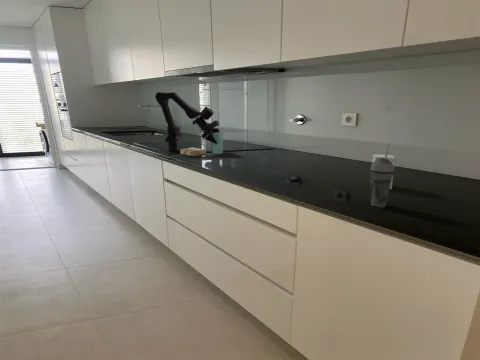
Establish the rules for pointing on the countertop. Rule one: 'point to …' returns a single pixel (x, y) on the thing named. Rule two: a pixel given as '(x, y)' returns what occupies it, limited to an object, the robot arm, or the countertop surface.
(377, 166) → the beverage cup
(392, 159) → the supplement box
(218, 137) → the teal tall block
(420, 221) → the countertop surface
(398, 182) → the countertop surface
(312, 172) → the countertop surface
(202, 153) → the birch base block
